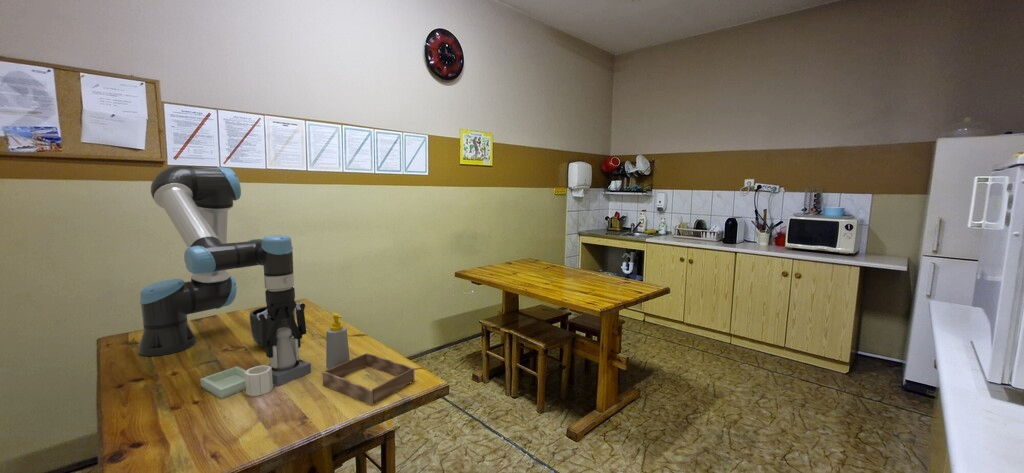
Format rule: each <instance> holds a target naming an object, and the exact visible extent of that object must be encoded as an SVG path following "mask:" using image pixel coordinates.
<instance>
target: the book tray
mask: <svg viewBox="0 0 1024 473" xmlns="http://www.w3.org/2000/svg"><path fill="white" fill-rule="evenodd" d="M366 367H370V368H373V369H375V370H378V371H382V372H383V371H384V372H385V373H386V374H389V375H392V376H394V377H393V378H391V379H389V380H387V381H385V382H383V383H382V384H379V385H377V386H376V387H374V388H372V389H370V388H368V387H365V386H363V385H360V384H358V383H356V382H352V381H351V380H347V379H345V378H344V377H346V376H348V375H351V374H352V373H355V372H357V371H359V370H362V369H363V368H366ZM321 375H322V377H321V378H322V386H324V387H327V388H329V389H331V390H334V391H336V392H338V393H341V394H343V395H346V396H348V397H350V398H352V399H355V400H358V401H360V402H362V403H365V404H367V405H369V406H371V407H372V406H374V405H375V404H377V403H379V402H380V400H381V401H382V400H384V399H386V398H388V397H389V396H391V395H394V392H395V393H396V392H398V391H400V390H402V389H403V388H405V387H407V386H408V385H407V384H409V383H410V382H412V381H414V380H415V377H416V376H415V368H414V367H412V366H409V365H406V364H403V363H400V362H397V361H393V360H391V359H388V358H385V357H382V356H381V357H380V356H378V355H375V354H371V353H369V352H366V353H364V354H361V355H359V356H356V357H354V358H352V359H350V360H349V361H347V362H344V363H342V364H340V365H337V366H335V367H333V368H330V369H325V370H324V371H322V373H321ZM414 382H415V381H414ZM412 383H413V382H412ZM410 384H411V383H410ZM410 384H409V385H410ZM406 385H407V386H406ZM404 386H405V387H404ZM401 388H402V389H401ZM399 389H400V390H399Z"/></svg>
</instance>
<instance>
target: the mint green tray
mask: <svg viewBox="0 0 1024 473" xmlns="http://www.w3.org/2000/svg"><path fill="white" fill-rule="evenodd" d="M247 370H248V369H247ZM247 370H246V369H244V368H242V367H241V366H238V365H235V366H233V367H231V368H228V369H224V370H222V371H219V372H216V373H213V374H210V375H206V376H205V377H202V378H201V377H200V378H199V379H200V380H199V381H200V388H202V389H204V390H205V391H208V392H209V393H211V394H213V395H214V396H216V397H218V398H219V399H220V400H221V399H225V398H227V397H230V396H232V395H235V394H238V393H240V392H242V390H243V391H246V385H245V372H246V371H247Z"/></svg>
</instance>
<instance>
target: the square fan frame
mask: <svg viewBox="0 0 1024 473" xmlns="http://www.w3.org/2000/svg"><path fill="white" fill-rule="evenodd" d="M267 365H268V366H270V363H269V364H267ZM311 366H312V365H311V362H308V361H306V360H304V359H301V358H299V360H296V363H295V366H294V368H292V369H290V370H286V371H277V370H276V368H273V367H272V379H273V386H274V385H275V386H277V387H279V386H282V385H285V384H287V383H289V382H291V381H294V380H297V379H300V378H301V377H304V376H307V375H308V374H311V373H312V370H311V369H312V368H311Z"/></svg>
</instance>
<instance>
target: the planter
mask: <svg viewBox="0 0 1024 473" xmlns="http://www.w3.org/2000/svg"><path fill="white" fill-rule="evenodd" d="M265 309H266V306H262V307H259V308H258V307H257V308H256V309H253V310H251V311H250V312H249V323H250V332H251V335H252V339H253V341H254V343H255V344H256V345H258V320H257V318H256V316H255V315H256V313H261V312H263V311H265ZM293 315H294V317H295V318H294V319H295V320H296V309H294V311H293ZM269 319H270V316H269V315H268V314H267V319H266V321H267V332H268V328H269V323H270V322H269ZM279 328H289V326H288V323H287V321H286V319H285V318H284V319H282V320H280V323H279V324H278V328H277V329H279ZM289 337H290V338H294V337H293V335H292V333H291V335H290V336H289ZM277 341H278V338H276V337H275V340H274V346H276V347H277ZM261 349H265V350H266V347H265V348H264V347H261Z"/></svg>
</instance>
